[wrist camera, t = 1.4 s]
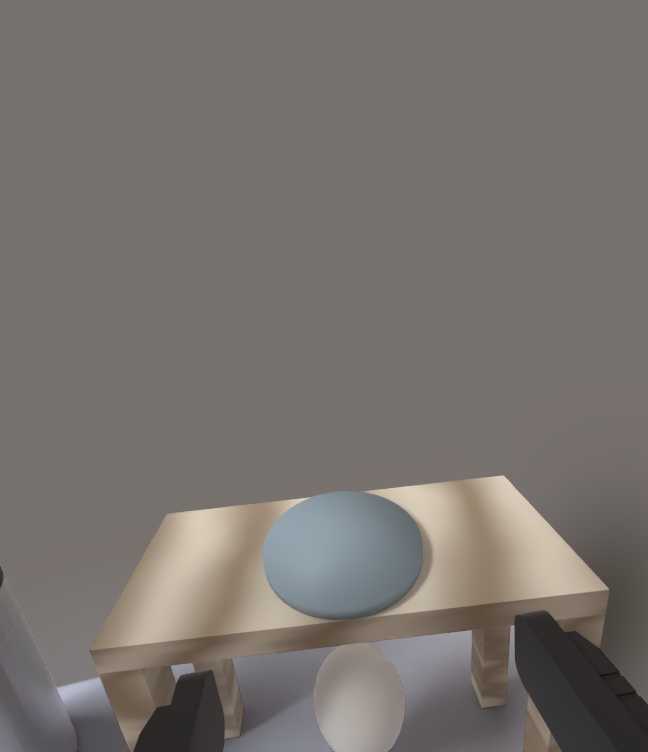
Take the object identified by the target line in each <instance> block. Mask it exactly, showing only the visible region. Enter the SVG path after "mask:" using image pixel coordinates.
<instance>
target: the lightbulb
mask: <svg viewBox="0 0 648 752" xmlns="http://www.w3.org/2000/svg"><path fill="white" fill-rule="evenodd" d="M313 701H314V711H315V716H316V720H317V723H318V727H319V729H320V731H321V733H322V735H323V737H324V738H325V740H326V742H327V743H328V744H329V746H330V747H331V748H332V749H333V750H334V751H335V752H388V751H389V750H390V749H391V748H392V746H393V745H394V743H395V742H396V740H397V738H398V736H399V733H400V731H401V728H402V724H403V720H404V713H405V700H404V692H403V687H402V684H401V681H400V678H399V675H398V673H397V671H396V669H395V667H394V666H393V664H392V663H391V661H390V660H389V659H388V657H387V656H386V655H385V654H384V653H383V652H382V651H380V650H379V649H377V648H376V647H374V646H372V645H370V644H367V643H356V644H348V645H341V646H339V647H337V648H336V649H335V650H333V651H332V652H331V653H330V654H329V655H328V656H327V657H326V659H325V660H324V662H323V663H322V665H321V667H320V670H319V672H318V675H317V678H316V682H315V687H314V699H313Z"/></svg>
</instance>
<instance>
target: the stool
mask: <svg viewBox="0 0 648 752" xmlns="http://www.w3.org/2000/svg"><path fill="white" fill-rule="evenodd" d="M608 595H609V589H608V587H606V585H605V584H604V583H603V582H602V581H601V580H600V579H599V578H598V577H597V576H596V575H595V573H594V572H593V571H592V570H591V569H590V568H589V567H588V566H587V565H586V564H585V563H584V562H583V561H582V559H581V558H580V557H579V556H578V555H577V554H576V553H575V552H574V551H573V550H572V549H571V548H570V547H569V545H568V544H567V543H566V542H565V541H564V540H563V539H562V538H561V537H560V536H559V535H558V534H557V533H556V531H555V530H553V528H552V527H551V526H550V525H549V524H548V523H547V522H546V521H545V520H544V519H543V518H542V516H541V515H540V514H539V513H538V512H537V511H536V510H535V509H534V508H533V507H532V506H531V505H530V504H529V503H528V501H527V500H526V499H525V498H524V497H523V496H522V495H521V494H520V493H519V492H518V491H517V490H516V488H515V487H514V486H513V485H512V484H511V483H510V482H509V481H508V480H507V479H506V478H505V477H504V476H496V477H487V478H478V479H469V480H461V481H452V482H444V483H434V484H426V485H417V486H408V487H399V488H390V489H381V490H373V491H364V492H357V491H338V492H330V493H325V494H321V495H317V496H314V497H311V498H302V499H294V500H286V501H276V502H268V503H259V504H251V505H241V506H232V507H224V508H215V509H206V510H197V511H188V512H180V513H171V514H167V515H166V517H165V518H164V520H163V522H162V524H161V525H160V527H159V529H158V531H157V532H156V534H155V536H154V538H153V540H152V541H151V543H150V545H149V546H148V548H147V550H146V552H145V554H144V555H143V557H142V559H141V561H140V562H139V564H138V566H137V568H136V569H135V571H134V573H133V575H132V576H131V578H130V580H129V582H128V583H127V585H126V587H125V589H124V590H123V592H122V594H121V596H120V598H119V599H118V601H117V603H116V605H115V606H114V608H113V610H112V611H111V613H110V615H109V617H108V619H107V620H106V622H105V624H104V626H103V627H102V629H101V631H100V633H99V634H98V636H97V638H96V640H95V641H94V643H93V645H92V647H91V648H90V650H89V651H90V653H91V656H92V658H93V661H94V664H95V666H96V668H97V671H98V673H99V676H100V678H101V681H102V683H103V686H104V688H105V691H106V693H107V696H108V698H109V701H110V703H111V706H112V708H113V711H114V713H115V716H116V718H117V721H118V723H119V726H120V728H121V731H122V733H123V736H124V738H125V741H126V743H127V746H128V748H129V751H130V752H133V751H134V748H135V746H136V743H137V740H138V737H139V734H140V733H141V731H142V730H143V728H144V726H145V725H146V723H147V722H148V720H149V719H150V717H151V716H152V714H153V713H154V711H155V710H156V708H157V707H161V706H166V705H170V704H171V701H172V697H173V694H174V691H175V687H176V682H175V679H174V676H173V673H172V670H171V666H170V665H178V664H187V663H193V664H194V668H195V671H196V672H201V671H206V670H212V671H213V674H214V677H215V681H216V685H217V689H218V692H219V696H220V700H221V704H222V708H223V712H224V720H225V737H224V739H227V738H235V737H240V732H241V725H242V718H243V712H244V707H243V703H242V699H241V694H240V690H239V686H238V682H237V678H236V674H235V670H234V666H233V662H232V658H238V657H246V656H255V655H263V654H272V653H280V652H289V651H297V650H306V649H314V648H323V647H331V646H340V645H348V644H356V643H365V642H373V641H382V640H390V639H399V638H407V637H416V636H424V635H433V634H441V633H450V632H458V631H467V630H472V662H471V683H472V685H473V688H474V690H475V693H476V695H477V698H478V700H479V703H480V706H481V708H486V707H494V706H503V705H505V704H506V689H507V673H508V658H509V642H510V627H511V625H515V616H516V615H519V614H524V613H530V612H535V611H540V610H545V611H547V612H548V613H549V614H550V615H551V616H552V617H553V618H554V619H555V621H556V622H557V623H558V624H559V626H560V627H561V628H562V629H563V631H564V632H570V631H576V632H578V633H579V634H580V635H582V636H583V637H585V638H586V639H587V640H589V641H590V642H591V643H593V644H594V645H595V646H597V647H598V648H599V649H600V643H601V638H602V632H603V626H604V620H605V613H606V607H607V601H608ZM523 752H562V751H561V749H560V747H559V746H558V744H557V742H556V741H555V739H554V737H553V735H552V734H551V732H550V730H549V729H548V727H547V725H546V723H545V722H544V720H543V718H542V717H541V715H540V713H539V711H538V710H537V708H536V706H535V705H534V703H533V701H532V699H531V698H530V696H529V694H528V701H527V712H526V723H525V734H524V745H523Z"/></svg>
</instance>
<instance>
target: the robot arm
mask: <svg viewBox="0 0 648 752" xmlns="http://www.w3.org/2000/svg"><path fill="white" fill-rule="evenodd" d="M515 662H516V667H517V670H518V673H519V676H520V679H521V681H522V683H523V685H524V687H525V689H526V691H527V693H528V694H529V696H530V698H531V699H532V701H533V703H534V705H535V706H536V708H537V710H538V711H539V713H540V715H541V717H542V718H543V720H544V722H545V723H546V725H547V727H548V729H549V730H550V732H551V734H552V735H553V737H554V739H555V741H556V742H557V744H558V746H559V747H560V749H561V751H562V752H648V705H647V703H646V702H645V701H644V700H643V699H642V698H641V697H639V696H638V695H637V693H636V691H635V690H634V688H633V687H632V686H631V685H630V684H629V682H627V680H626V679H625V678H624V677H623V676H621V675H620V673H619V671H618V670H617V668H616V667H615V666H614V665H613V664H612V663H611V662H610V660H609V659H608V658H607V657H606V656H605V654H604V653H603V652H602V651H601V650H600V649H599V648H598V647H597V646H595V645H594V644H593V643H591V642H590V641H589V640H587V639H586V638H585V637H583V636H582V635H580V634H579V633H578V632H576V631H570V632H564V631H563V629H562V628H561V627H560V626H559V624H558V623H557V622H556V621H555V619H554V618H553V617H552V616H551V615H550V614H549V613H548V612H547V611H545V610H540V611H535V612H530V613H524V614H519V615H516V616H515ZM224 737H225V720H224V712H223V708H222V704H221V700H220V696H219V692H218V689H217V685H216V681H215V677H214V674H213V671H212V670H206V671H201V672H195V673H190V674H184V675H181V676H180V678H179V679H178V682H177V684H176V687H175V691H174V694H173V697H172V701H171V704H170V705H166V706H161V707H157V708H156V710H155V711H154V713H153V714H152V716H151V717H150V719H149V720H148V722H147V723H146V725H145V726H144V728H143V730H142V731H141V733H140V734H139V737H138V740H137V743H136V746H135V748H134V751H133V752H223V747H224ZM0 752H77V735H76V732H75V728H74V726H73V724H72V722H71V719H70V717H69V715H68V713H67V711H66V709H65V706H64V704H63V702H62V699H61V697H60V695H59V693H58V690H57V688H56V686H55V684H54V682H53V680H52V677H51V675H50V673H49V671H48V669H47V667H46V664H45V662H44V660H43V658H42V656H41V654H40V651H39V649H38V647H37V645H36V643H35V641H34V638H33V636H32V635H31V632H30V630H29V628H28V626H27V623H26V621H25V619H24V617H23V615H22V613H21V611H20V608H19V606H18V604H17V602H16V600H15V598H14V596H13V594H12V591H11V589H10V587H9V585H8V583H7V581H6V578H5V576H4V574H3V571H2V569H1V567H0Z"/></svg>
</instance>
